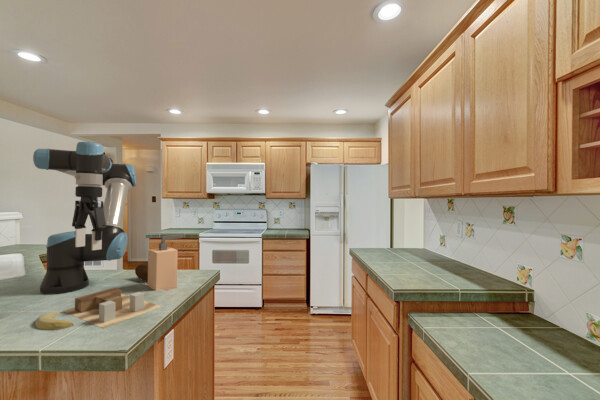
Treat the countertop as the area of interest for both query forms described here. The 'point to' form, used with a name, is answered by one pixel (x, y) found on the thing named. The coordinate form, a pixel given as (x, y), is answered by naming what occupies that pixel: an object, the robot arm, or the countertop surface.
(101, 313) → the posts
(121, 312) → the board
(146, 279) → the potato
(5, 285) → the countertop surface
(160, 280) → the pump bottle
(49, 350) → the countertop surface
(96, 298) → the tee
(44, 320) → the fruit
